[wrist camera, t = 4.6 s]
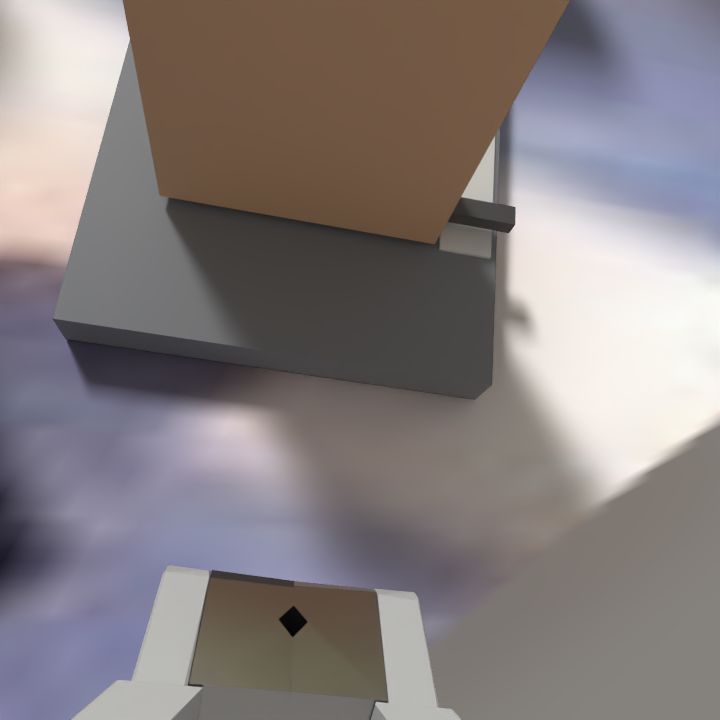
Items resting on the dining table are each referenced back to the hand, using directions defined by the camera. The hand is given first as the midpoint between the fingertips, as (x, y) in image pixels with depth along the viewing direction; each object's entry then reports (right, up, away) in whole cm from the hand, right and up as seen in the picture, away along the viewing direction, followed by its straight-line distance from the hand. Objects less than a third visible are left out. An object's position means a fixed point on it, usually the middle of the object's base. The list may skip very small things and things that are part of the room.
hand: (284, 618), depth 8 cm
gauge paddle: (0, +8, +12) cm, 14 cm away
